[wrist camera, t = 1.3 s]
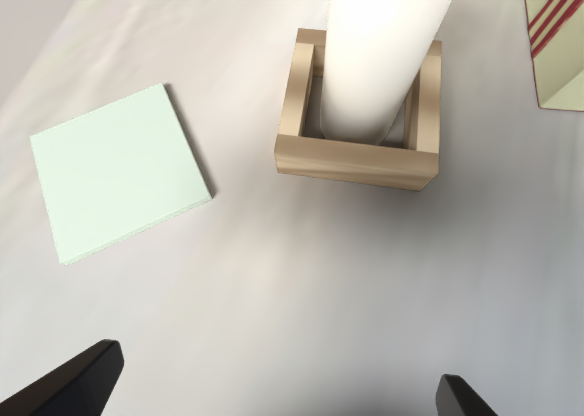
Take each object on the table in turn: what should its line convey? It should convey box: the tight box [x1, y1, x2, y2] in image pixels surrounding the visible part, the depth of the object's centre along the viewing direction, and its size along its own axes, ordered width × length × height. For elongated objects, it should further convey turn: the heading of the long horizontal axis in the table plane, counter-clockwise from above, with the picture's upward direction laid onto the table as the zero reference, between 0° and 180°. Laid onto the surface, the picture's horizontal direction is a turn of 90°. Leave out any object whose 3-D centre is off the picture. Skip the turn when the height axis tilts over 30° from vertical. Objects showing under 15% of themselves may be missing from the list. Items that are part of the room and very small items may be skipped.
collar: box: [274, 28, 442, 191], centre depth 25 cm, size 11×11×4 cm
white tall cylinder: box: [320, 0, 452, 146], centre depth 20 cm, size 8×6×13 cm
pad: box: [29, 83, 212, 265], centre depth 25 cm, size 12×12×1 cm
